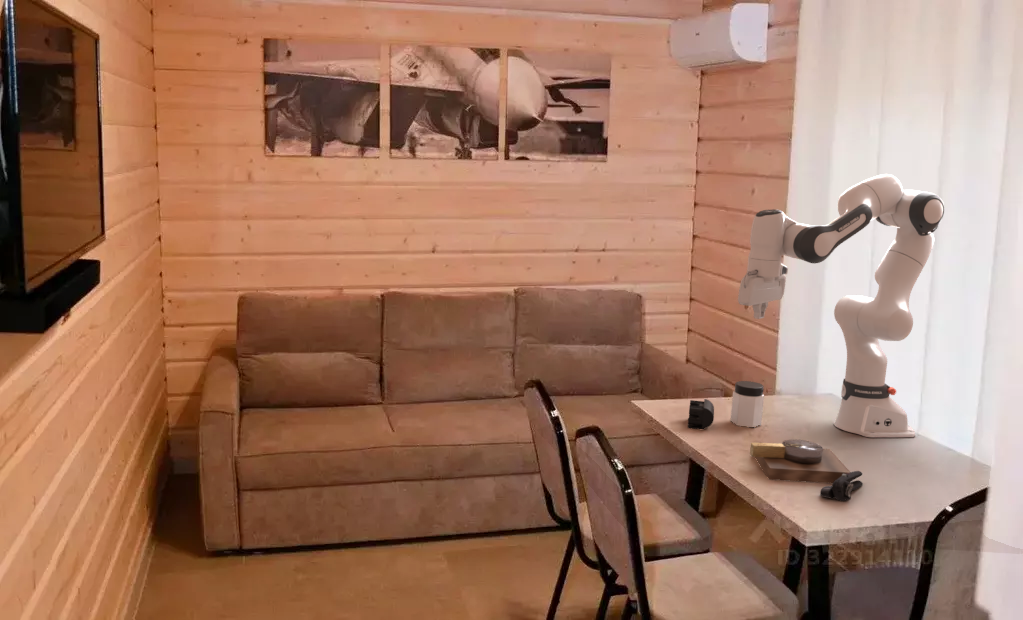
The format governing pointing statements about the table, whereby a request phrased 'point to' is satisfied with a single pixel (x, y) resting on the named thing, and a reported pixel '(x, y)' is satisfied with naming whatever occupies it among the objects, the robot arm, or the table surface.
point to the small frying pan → (789, 451)
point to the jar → (747, 404)
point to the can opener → (842, 486)
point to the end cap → (700, 414)
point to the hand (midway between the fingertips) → (758, 318)
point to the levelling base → (804, 469)
